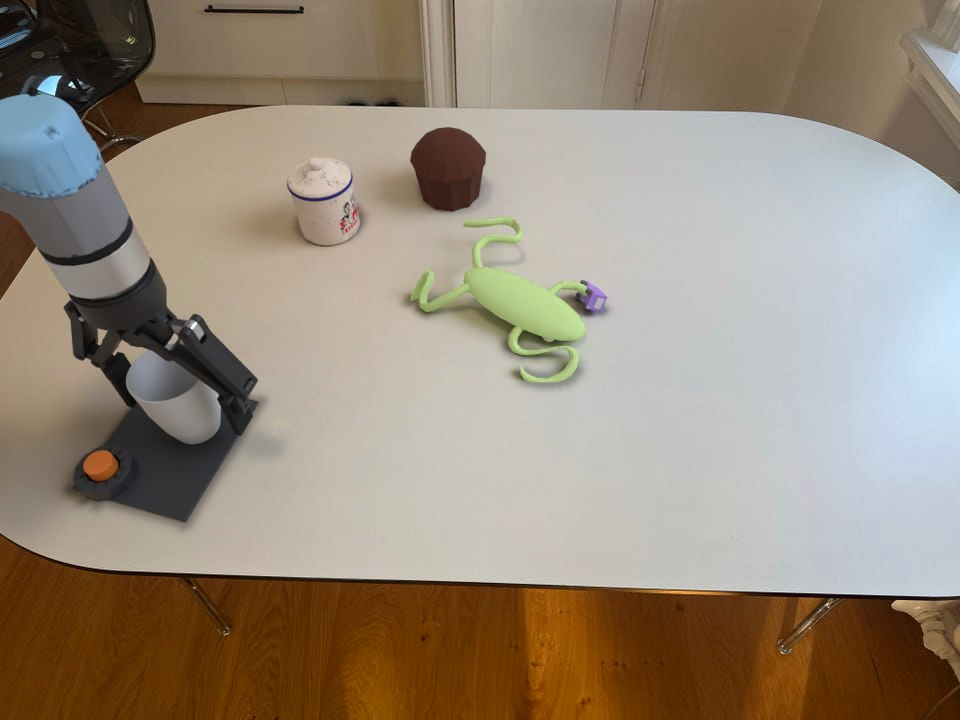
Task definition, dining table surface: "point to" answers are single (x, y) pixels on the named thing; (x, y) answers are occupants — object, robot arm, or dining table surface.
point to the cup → (174, 398)
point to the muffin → (448, 168)
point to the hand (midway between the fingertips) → (190, 411)
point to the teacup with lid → (324, 200)
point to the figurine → (519, 300)
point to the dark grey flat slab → (157, 466)
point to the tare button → (100, 465)
